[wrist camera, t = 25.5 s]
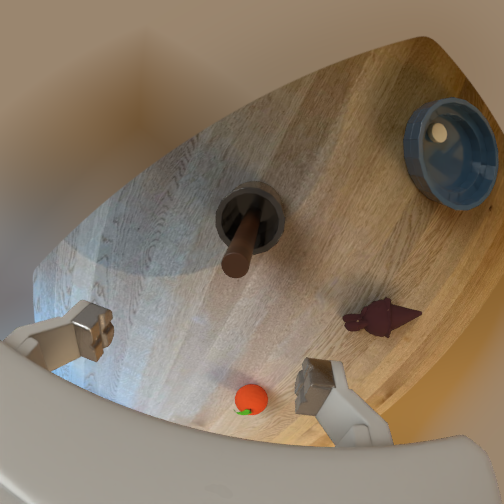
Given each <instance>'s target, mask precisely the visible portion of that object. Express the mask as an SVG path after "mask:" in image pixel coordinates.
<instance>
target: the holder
mask: <svg viewBox="0 0 504 504" xmlns="http://www.w3.org/2000/svg"><path fill="white" fill-rule="evenodd" d="M252 207H255V208H258V209H259V210H260V211H261V220H260V224H259V228H258V232H257V237H256V241H255V245H254V249H253V253H252V255H255V254H259V253H263V252H266V251H268V250H269V249H270V248H272V247H273V246H274V245H276V244H277V243H278V241H279V239H280V237H281V236H282V234H283V231H284V224H285V214H284V207H283V203H282V200H281V197H280V195H279V194H278V193H277V191H276V190H275V189H274V188H272V187H271V186H269V185H268V184H266V183H263V182H258V181H250V182H246V183H243V184H240V185H239V186H237V187H236V188H235V189H234V190H233V191H232V192H231V193H229V194H228V195H227V196H226V197H225V198H224V199H223V200H222V201H221V203H220V205H219V207H218V209H217V211H216V228H217V231H218V234H219V236H220V238H221V239H222V241H223V242H224V243H225V244H226V245H227V246H228V247H229V245H230V243H231V241H232V239H233V237H234V235H235V233H236V231H237V229H238V227H239V225H240V223H241V221H242V219H243V217H244V215H245V213H246V211H247V210H248V209H249V208H252Z"/></svg>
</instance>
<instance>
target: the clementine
mask: <svg viewBox="0 0 504 504" xmlns="http://www.w3.org/2000/svg"><path fill="white" fill-rule="evenodd" d="M267 403H268V396H267V394H266V392H265V390H264V389H263V388H261V387H260V386H258V385H254V384H249V385H245V386H243V387H241V388H240V389H239V390H238V391H237V393H236V396H235V404H236V406H237V408H238V409H239V410H240V411H241V412H236V413H237V414H240V415H256V414H259V413H260V412H262V411H263V410H264V409H265V408H266V406H267ZM234 411H235V410H234Z"/></svg>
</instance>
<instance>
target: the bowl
mask: <svg viewBox="0 0 504 504" xmlns="http://www.w3.org/2000/svg"><path fill="white" fill-rule="evenodd" d="M433 123H440V124H442V125H443V126H444V127H445V129H446V131H447V138H446V140H445V141H444V142H433V141H432V140H431V139H430V138H429V136H428V132H427V130H428V127H429V125H430V124H433ZM403 143H404V159H405V162H406V165H407V169H408V172H409V175H410V176H411V178H412V180H413V181H414V183H415V185H416V187H417V188H418V189H419V190H420V191H421V192H422V193H423V194H424V195H425V196H426V197H427V198H429V199H431V200H433V201H436V202H438V203H440V204H442V205H445V206H447V207H450V208H452V209H454V210H470V209H472V208H474V207H477V206H479V205H480V204H481V203H482V202H483V201H484V200H485V199H486V198H487V197H488V196H489V194H490V192H491V190H492V188H493V186H494V184H495V181H496V177H497V172H498V148H497V144H496V140H495V136H494V133H493V131H492V129H491V127H490V125H489V123H488V121H487V119H486V118H485V117H484V116H483V115H482V113H481V112H480V111H479V110H478V109H477V108H476V107H475V106H473V105H472V104H470V103H469V102H467V101H466V100H462V99H458V98H454V97H450V98H445V99H441V100H436V101H432V102H428V103H425V104H423V105H422V106H421V107H419V108H418V109H417V110H415V111H414V113H413V114H412V116H411V118H410V119H409V121H408V123H407V125H406V130H405V135H404V139H403Z"/></svg>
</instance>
